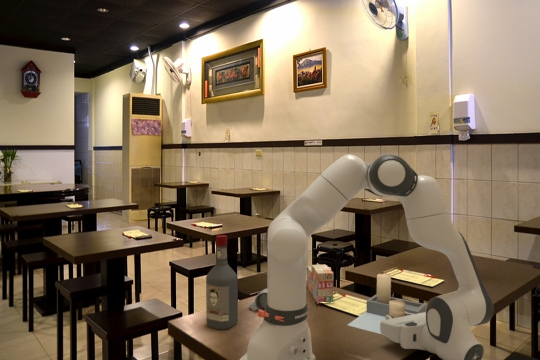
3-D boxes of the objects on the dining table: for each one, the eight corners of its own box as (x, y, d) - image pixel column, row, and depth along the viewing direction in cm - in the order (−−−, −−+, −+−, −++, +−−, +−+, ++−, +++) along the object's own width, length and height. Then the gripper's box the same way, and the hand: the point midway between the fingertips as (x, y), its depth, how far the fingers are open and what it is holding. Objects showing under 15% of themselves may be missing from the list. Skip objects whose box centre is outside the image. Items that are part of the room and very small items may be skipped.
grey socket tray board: (404, 343, 126) (405, 298, 125) (347, 328, 137) (347, 286, 136) (427, 318, 145) (428, 279, 144) (375, 307, 156) (376, 270, 156)
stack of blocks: (306, 287, 181) (306, 259, 180) (320, 286, 181) (321, 258, 181) (317, 304, 160) (317, 272, 159) (333, 303, 160) (333, 272, 160)
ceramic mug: (279, 306, 157) (279, 286, 157) (274, 314, 149) (274, 293, 149) (252, 304, 160) (252, 284, 159) (246, 312, 152) (246, 291, 151)
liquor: (218, 317, 147) (218, 232, 145) (240, 321, 142) (240, 235, 141) (202, 326, 139) (202, 237, 137) (225, 331, 134) (225, 239, 133)
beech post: (401, 338, 127) (402, 306, 126) (386, 334, 130) (386, 303, 129) (406, 333, 131) (407, 302, 130) (391, 329, 134) (392, 298, 133)
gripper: (455, 316, 122) (420, 301, 135) (400, 327, 114) (368, 310, 127) (454, 337, 122) (420, 320, 135) (399, 350, 114) (368, 330, 127)
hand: (394, 315), depth 131 cm, fingers closed on beech post, 5 cm apart
